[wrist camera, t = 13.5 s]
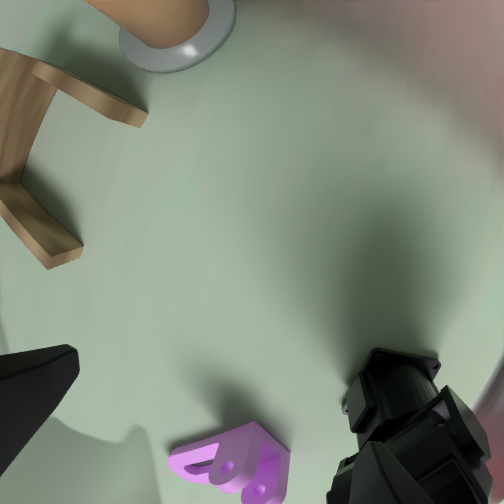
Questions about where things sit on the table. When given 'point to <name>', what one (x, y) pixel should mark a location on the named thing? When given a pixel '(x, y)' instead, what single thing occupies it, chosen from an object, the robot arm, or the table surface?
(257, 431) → the bracket
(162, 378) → the table surface
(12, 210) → the wooden cradle holder
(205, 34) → the grey saucer
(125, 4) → the terracotta pot
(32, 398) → the robot arm
